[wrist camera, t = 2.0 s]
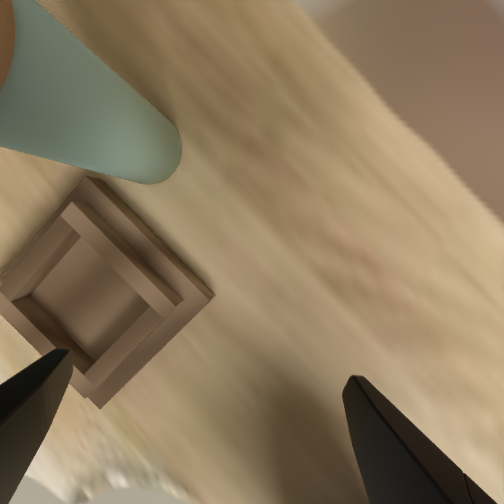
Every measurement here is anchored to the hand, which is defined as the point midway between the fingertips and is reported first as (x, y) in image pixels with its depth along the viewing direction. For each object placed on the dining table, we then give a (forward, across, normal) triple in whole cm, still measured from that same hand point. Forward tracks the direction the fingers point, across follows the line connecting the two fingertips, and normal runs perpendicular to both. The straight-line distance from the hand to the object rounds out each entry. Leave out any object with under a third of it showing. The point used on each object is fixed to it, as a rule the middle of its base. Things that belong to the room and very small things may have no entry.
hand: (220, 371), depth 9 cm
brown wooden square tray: (+12, +8, +7) cm, 16 cm away
